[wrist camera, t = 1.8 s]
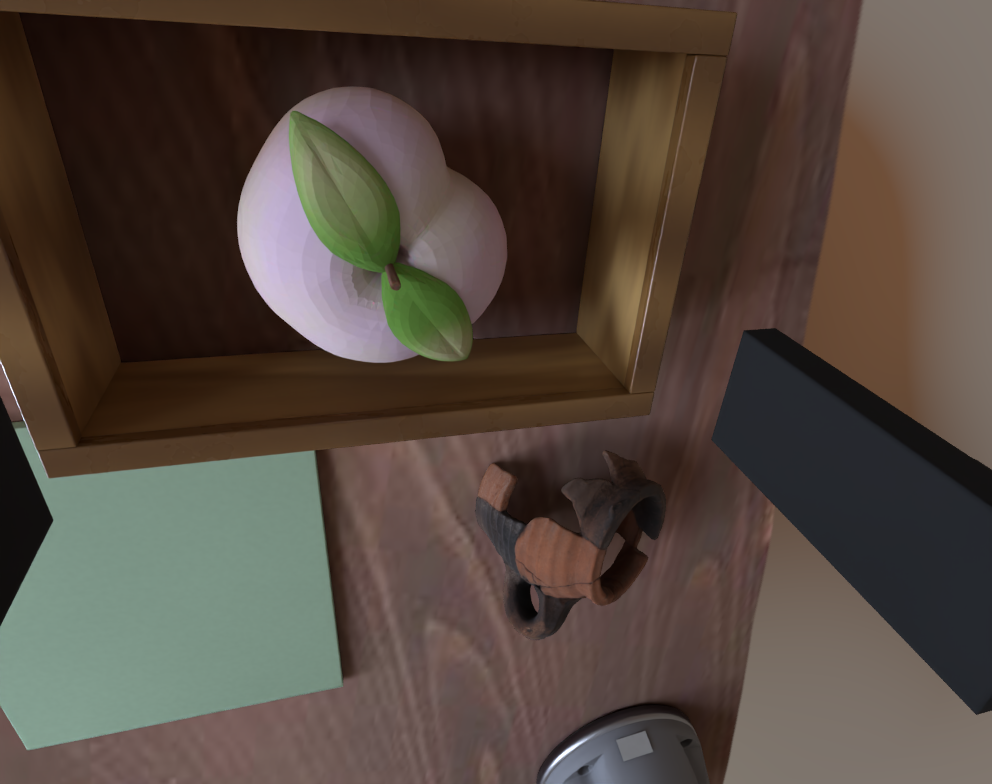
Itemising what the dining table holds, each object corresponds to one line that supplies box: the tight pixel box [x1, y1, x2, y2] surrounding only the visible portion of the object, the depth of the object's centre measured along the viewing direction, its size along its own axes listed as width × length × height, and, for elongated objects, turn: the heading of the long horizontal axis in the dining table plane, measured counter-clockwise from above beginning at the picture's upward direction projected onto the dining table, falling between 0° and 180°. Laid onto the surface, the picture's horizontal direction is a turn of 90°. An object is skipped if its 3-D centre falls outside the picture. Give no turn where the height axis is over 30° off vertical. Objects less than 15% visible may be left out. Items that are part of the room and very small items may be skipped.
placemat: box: [0, 421, 343, 750], centre depth 32 cm, size 22×18×1 cm
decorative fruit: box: [237, 86, 507, 363], centre depth 21 cm, size 9×8×10 cm
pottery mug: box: [475, 451, 666, 640], centre depth 35 cm, size 12×10×8 cm
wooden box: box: [0, 0, 737, 478], centre depth 22 cm, size 15×23×7 cm, turn 87°
